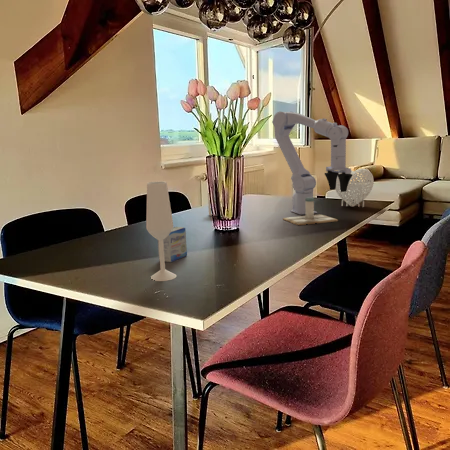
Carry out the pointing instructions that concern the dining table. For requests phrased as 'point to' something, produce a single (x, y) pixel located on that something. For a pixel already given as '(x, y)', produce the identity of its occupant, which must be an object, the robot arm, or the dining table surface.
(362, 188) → the decorative heart
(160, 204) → the champagne flute
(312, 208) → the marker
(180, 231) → the medicine box
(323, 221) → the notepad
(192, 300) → the dining table surface
